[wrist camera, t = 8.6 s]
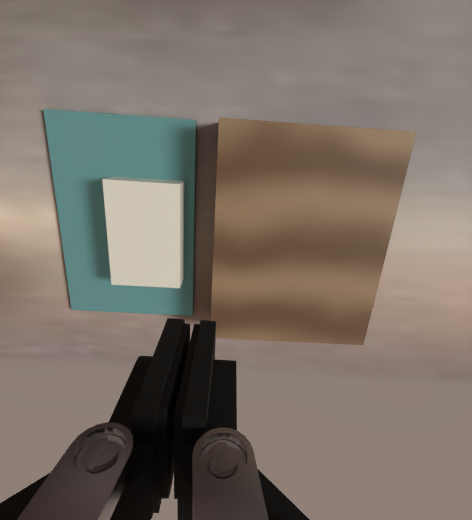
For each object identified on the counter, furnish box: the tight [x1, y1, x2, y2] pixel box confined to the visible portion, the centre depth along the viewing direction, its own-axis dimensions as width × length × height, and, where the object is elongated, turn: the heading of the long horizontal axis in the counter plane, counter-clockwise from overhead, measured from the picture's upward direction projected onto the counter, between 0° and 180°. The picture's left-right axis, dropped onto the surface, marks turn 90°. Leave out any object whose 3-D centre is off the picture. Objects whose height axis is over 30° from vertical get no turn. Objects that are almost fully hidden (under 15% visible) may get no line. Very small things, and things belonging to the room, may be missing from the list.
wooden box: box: [211, 118, 416, 345], centre depth 26 cm, size 18×14×4 cm
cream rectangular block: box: [102, 177, 185, 288], centre depth 26 cm, size 9×6×2 cm, turn 176°
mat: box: [43, 109, 196, 316], centre depth 27 cm, size 18×12×1 cm, turn 176°
